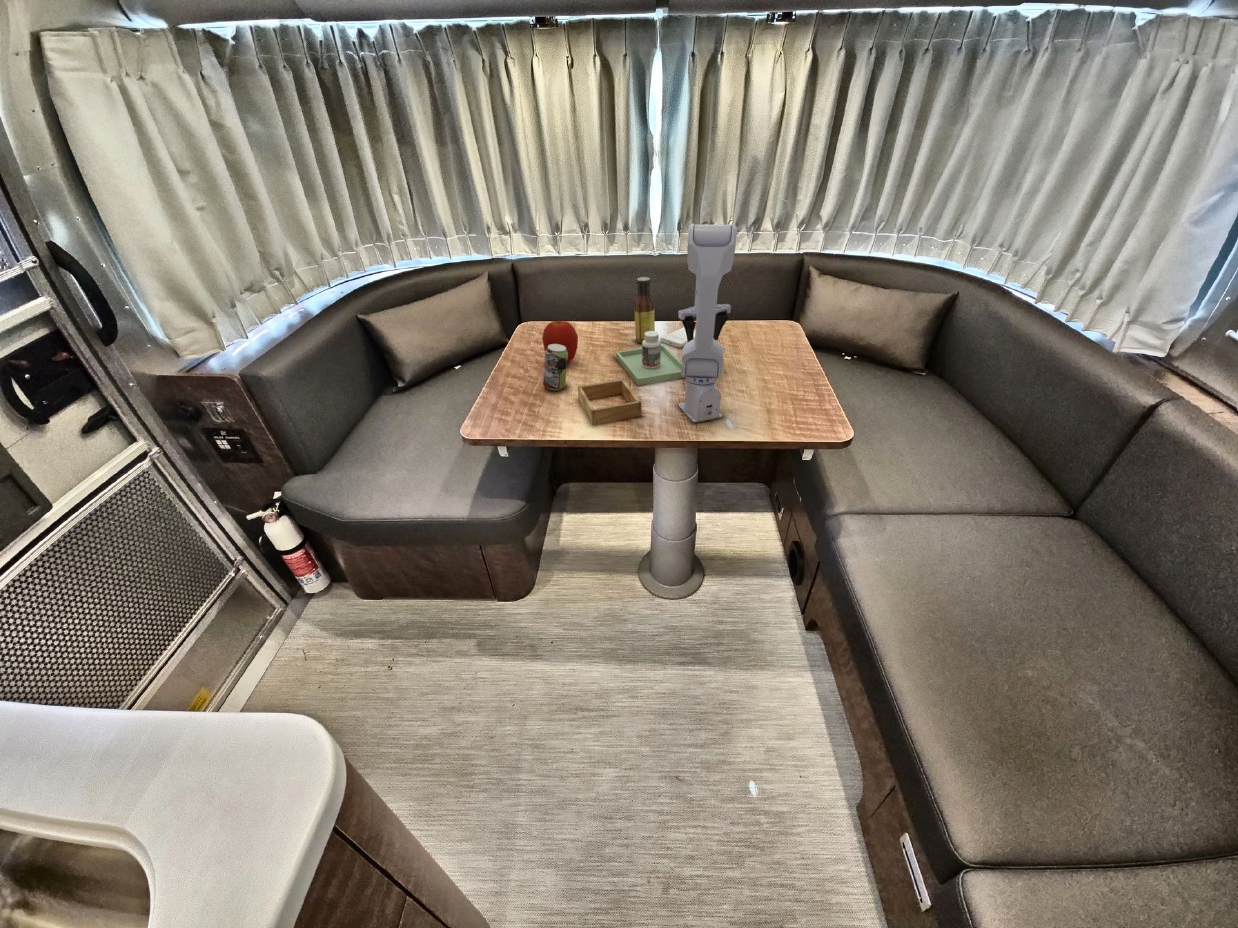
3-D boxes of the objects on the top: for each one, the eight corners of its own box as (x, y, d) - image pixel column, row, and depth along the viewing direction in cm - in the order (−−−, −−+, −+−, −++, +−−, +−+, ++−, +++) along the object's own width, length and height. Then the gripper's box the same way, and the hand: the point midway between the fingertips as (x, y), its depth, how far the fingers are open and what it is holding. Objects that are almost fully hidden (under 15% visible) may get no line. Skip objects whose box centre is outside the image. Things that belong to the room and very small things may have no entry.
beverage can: (541, 384, 148) (536, 344, 141) (566, 380, 150) (563, 340, 143) (547, 394, 143) (542, 353, 136) (573, 389, 145) (570, 348, 138)
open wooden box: (641, 416, 133) (641, 402, 131) (592, 425, 130) (591, 410, 128) (623, 392, 143) (623, 378, 141) (578, 400, 140) (577, 386, 138)
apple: (546, 372, 155) (541, 326, 147) (543, 358, 163) (538, 313, 155) (581, 368, 156) (578, 322, 148) (577, 354, 164) (574, 310, 156)
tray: (689, 376, 150) (689, 370, 149) (637, 385, 147) (637, 379, 145) (663, 350, 166) (663, 344, 164) (615, 358, 162) (615, 351, 161)
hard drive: (704, 337, 174) (680, 348, 167) (684, 330, 179) (660, 341, 171) (704, 332, 173) (680, 343, 166) (684, 326, 178) (660, 336, 170)
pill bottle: (639, 362, 158) (640, 331, 152) (657, 360, 158) (658, 329, 153) (644, 370, 153) (645, 338, 148) (662, 368, 154) (663, 336, 148)
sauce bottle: (658, 339, 173) (659, 277, 161) (648, 346, 168) (649, 283, 157) (640, 336, 176) (640, 274, 164) (630, 342, 171) (630, 280, 160)
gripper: (724, 284, 144) (719, 332, 152) (674, 290, 141) (672, 339, 149) (736, 291, 139) (731, 341, 147) (685, 298, 135) (683, 348, 143)
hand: (702, 340), depth 147 cm, fingers open, 7 cm apart
